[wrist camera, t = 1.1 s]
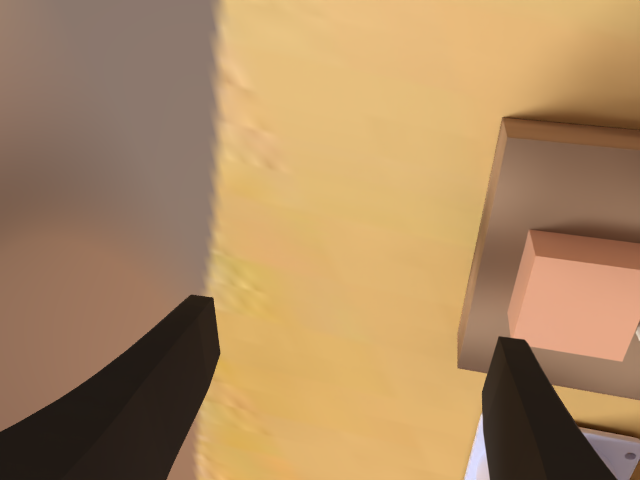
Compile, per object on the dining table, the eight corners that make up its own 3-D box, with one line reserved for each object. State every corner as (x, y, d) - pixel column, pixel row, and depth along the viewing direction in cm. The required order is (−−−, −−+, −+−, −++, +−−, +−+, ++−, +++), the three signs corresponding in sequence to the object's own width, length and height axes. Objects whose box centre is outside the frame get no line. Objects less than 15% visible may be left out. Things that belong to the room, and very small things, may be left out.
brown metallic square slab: (700, 373, 24) (723, 415, 22) (457, 333, 26) (457, 368, 24) (820, 146, 19) (866, 172, 17) (502, 117, 21) (507, 137, 19)
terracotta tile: (609, 328, 21) (622, 361, 20) (507, 312, 22) (511, 343, 20) (642, 243, 19) (659, 272, 18) (529, 229, 20) (535, 255, 18)
